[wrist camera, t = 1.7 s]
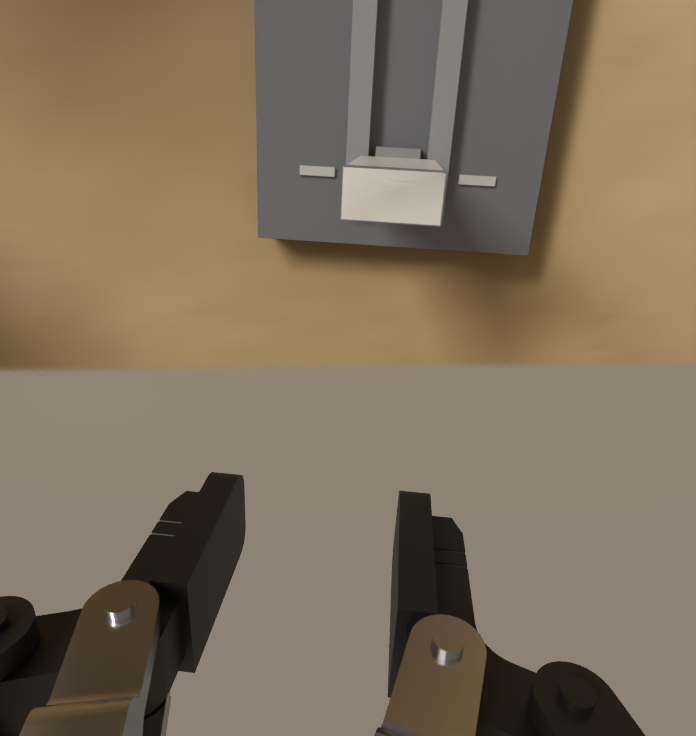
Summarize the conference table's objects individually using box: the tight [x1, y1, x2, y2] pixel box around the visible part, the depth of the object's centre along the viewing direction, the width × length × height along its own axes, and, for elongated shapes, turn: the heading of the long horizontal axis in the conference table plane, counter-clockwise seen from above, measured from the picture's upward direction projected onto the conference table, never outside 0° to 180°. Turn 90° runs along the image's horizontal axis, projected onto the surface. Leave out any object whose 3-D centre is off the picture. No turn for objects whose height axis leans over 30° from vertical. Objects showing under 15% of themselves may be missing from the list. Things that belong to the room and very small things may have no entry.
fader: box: [340, 146, 447, 227], centre depth 27 cm, size 4×3×10 cm
